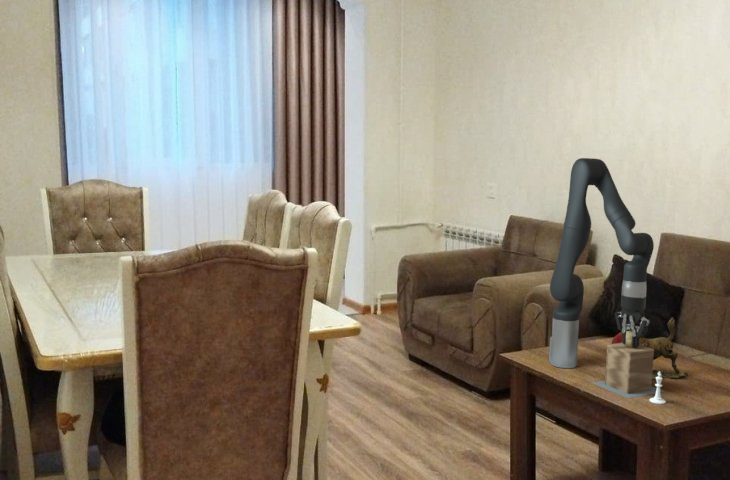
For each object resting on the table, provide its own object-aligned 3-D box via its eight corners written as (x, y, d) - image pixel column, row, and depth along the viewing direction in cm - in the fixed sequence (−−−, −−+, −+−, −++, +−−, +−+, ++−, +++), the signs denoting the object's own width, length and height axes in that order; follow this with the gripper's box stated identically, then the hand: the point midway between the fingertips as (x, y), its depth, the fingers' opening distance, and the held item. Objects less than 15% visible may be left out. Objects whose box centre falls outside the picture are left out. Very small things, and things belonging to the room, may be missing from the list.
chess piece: (661, 399, 234) (663, 369, 233) (668, 405, 230) (670, 374, 228) (646, 399, 234) (648, 369, 233) (653, 405, 229) (655, 374, 228)
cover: (604, 384, 247) (608, 329, 245) (627, 380, 252) (631, 326, 249) (628, 393, 238) (631, 337, 236) (651, 389, 243) (655, 334, 240)
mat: (592, 384, 249) (592, 382, 249) (627, 378, 256) (627, 376, 256) (628, 399, 235) (628, 397, 235) (664, 392, 242) (664, 391, 242)
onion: (608, 350, 289) (609, 330, 288) (620, 349, 291) (621, 329, 290) (617, 355, 284) (618, 334, 283) (630, 353, 285) (631, 333, 284)
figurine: (610, 370, 264) (613, 314, 262) (678, 370, 266) (681, 314, 264) (626, 380, 251) (630, 321, 249) (697, 380, 253) (701, 322, 251)
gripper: (609, 291, 246) (606, 341, 248) (642, 299, 233) (638, 352, 235) (626, 289, 249) (622, 339, 251) (659, 297, 236) (655, 350, 239)
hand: (630, 345), depth 243 cm, fingers closed on cover, 3 cm apart
